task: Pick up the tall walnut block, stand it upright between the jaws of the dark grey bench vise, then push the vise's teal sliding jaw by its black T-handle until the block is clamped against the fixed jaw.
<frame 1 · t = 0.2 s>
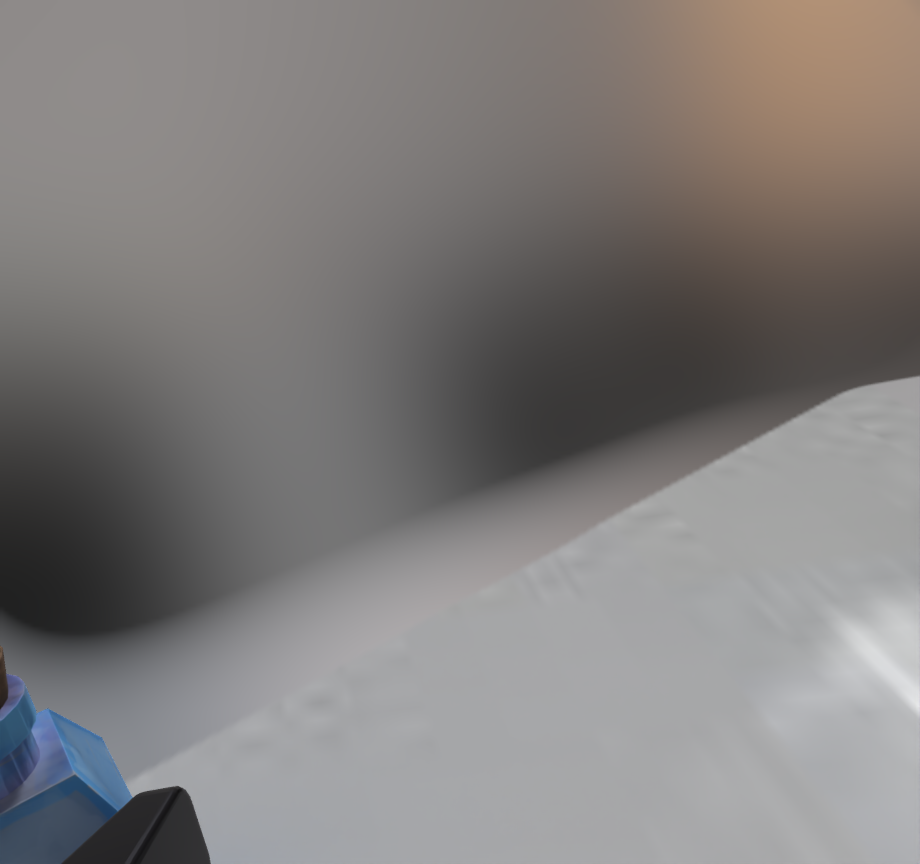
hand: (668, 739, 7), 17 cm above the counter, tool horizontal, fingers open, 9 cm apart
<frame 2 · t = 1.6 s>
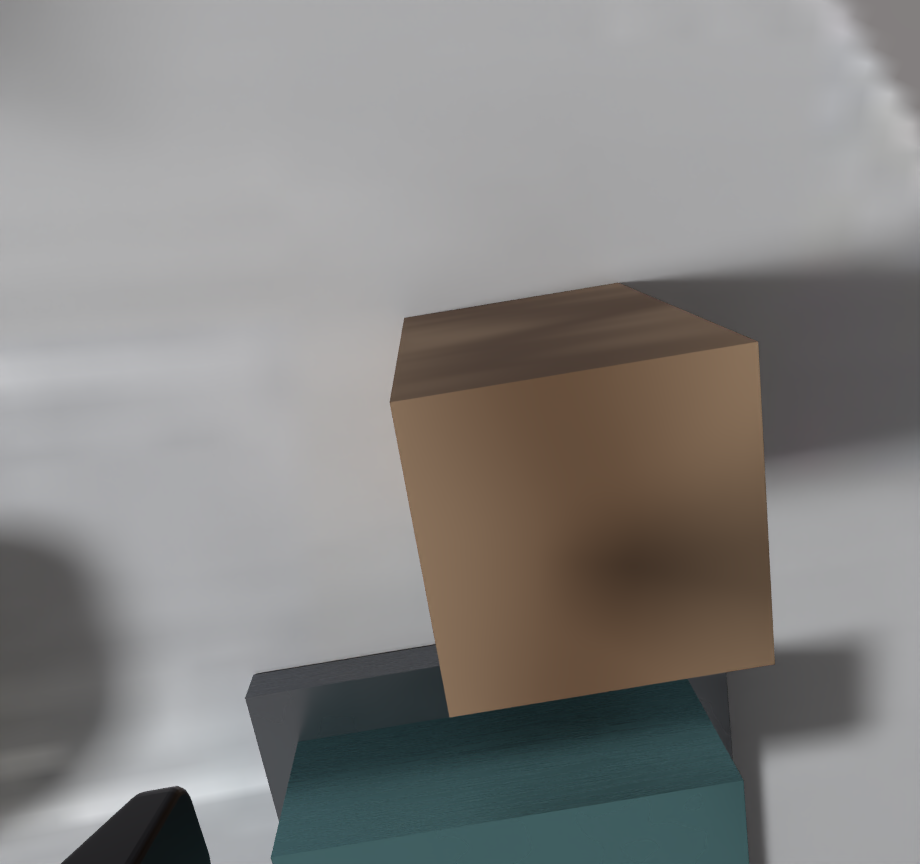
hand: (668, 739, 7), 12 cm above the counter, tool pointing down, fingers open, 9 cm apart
walnut block: (525, 403, 19), on the counter
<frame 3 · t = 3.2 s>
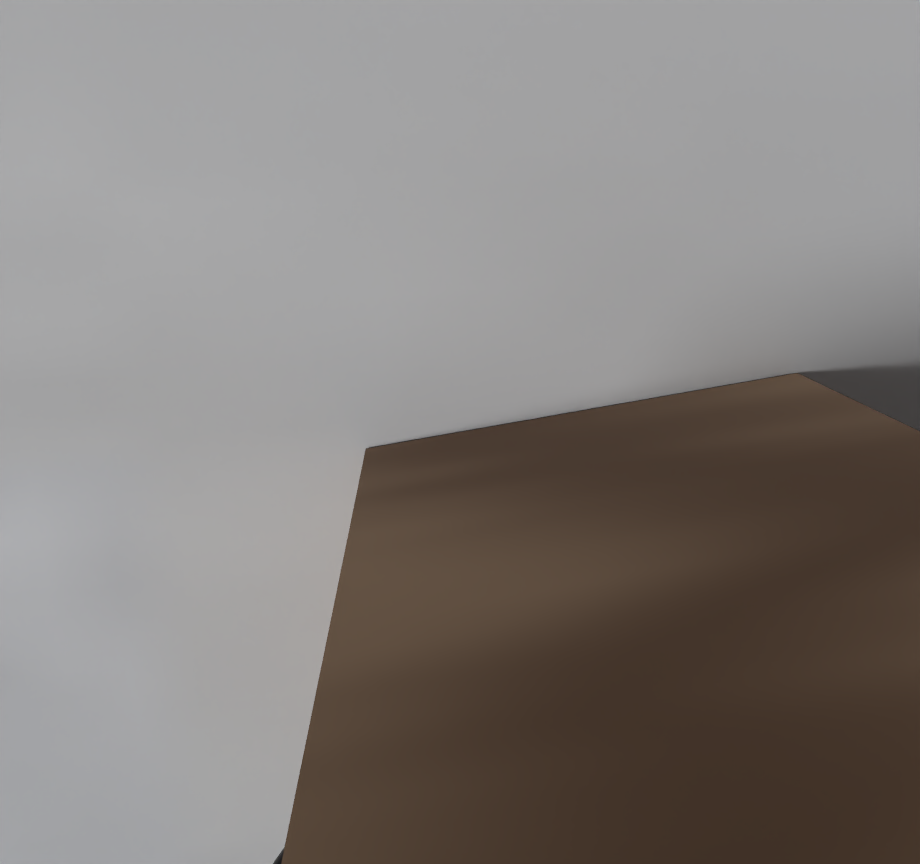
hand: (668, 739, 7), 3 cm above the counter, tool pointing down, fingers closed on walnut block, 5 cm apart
walnut block: (605, 603, 10), on the counter, touching gripper
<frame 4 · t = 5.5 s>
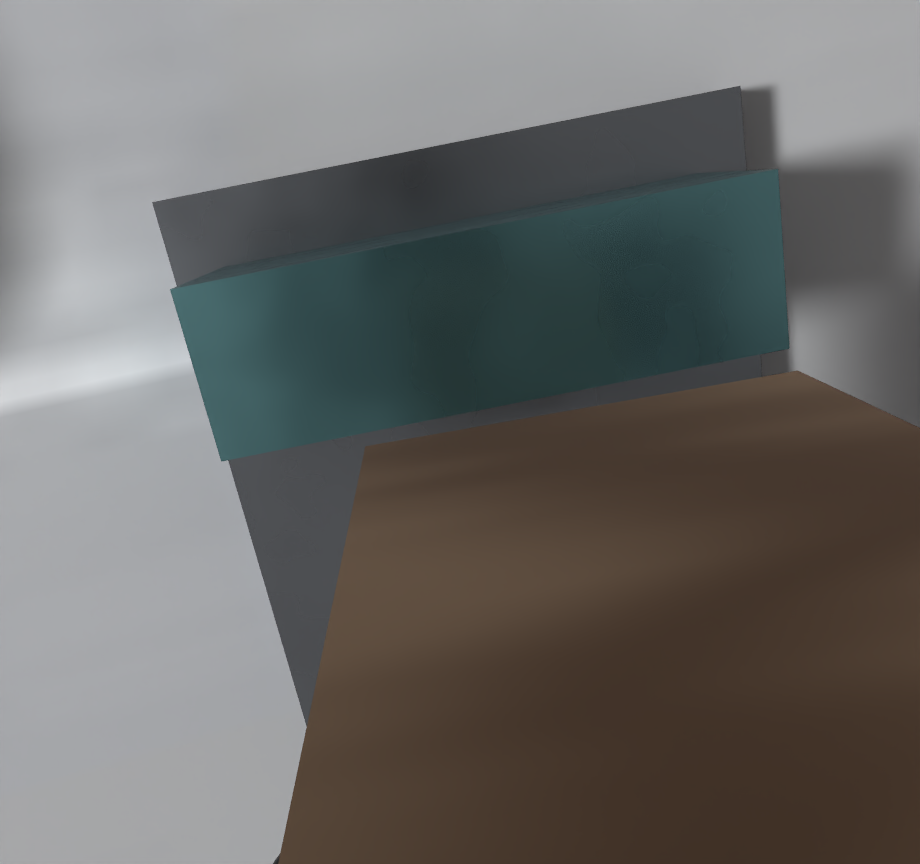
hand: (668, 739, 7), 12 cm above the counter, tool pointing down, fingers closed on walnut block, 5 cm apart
walnut block: (605, 601, 10), point 9 cm above the counter, touching gripper
vise: (533, 633, 20), on the counter
when the fingers open (4 cm above the counter, at t = 7.9 s): walnut block stays where it is, resting on vise.
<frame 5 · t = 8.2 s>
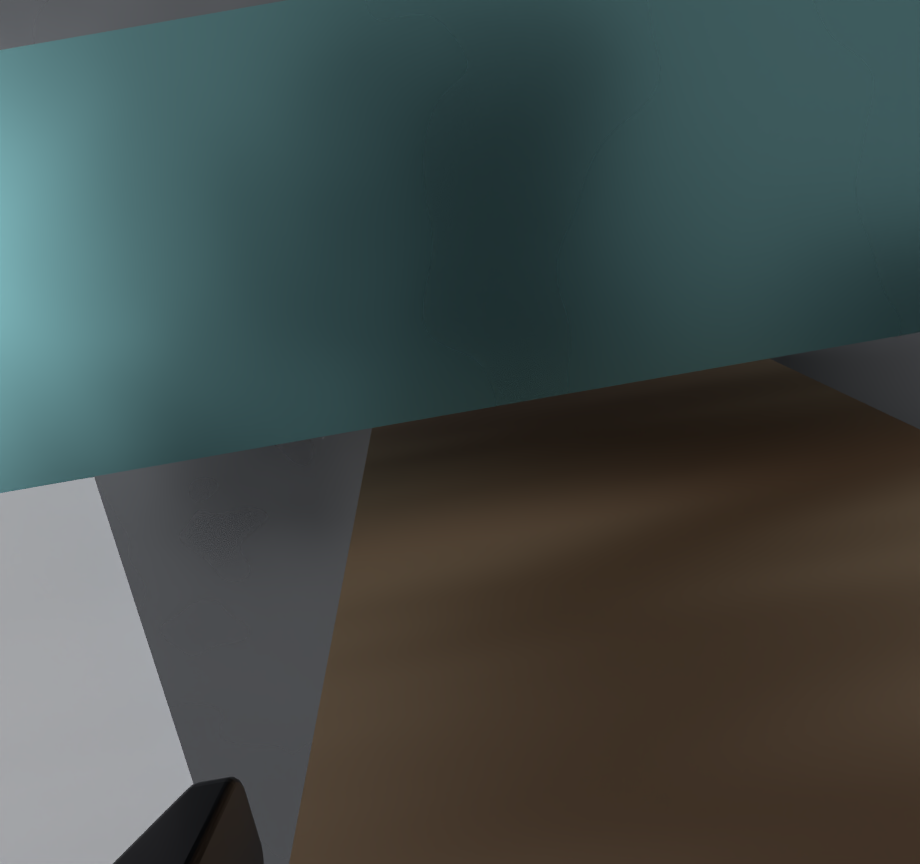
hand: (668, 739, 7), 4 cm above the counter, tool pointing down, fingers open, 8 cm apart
walnut block: (591, 568, 11), point 1 cm above the counter, touching vise
vise: (603, 761, 13), on the counter
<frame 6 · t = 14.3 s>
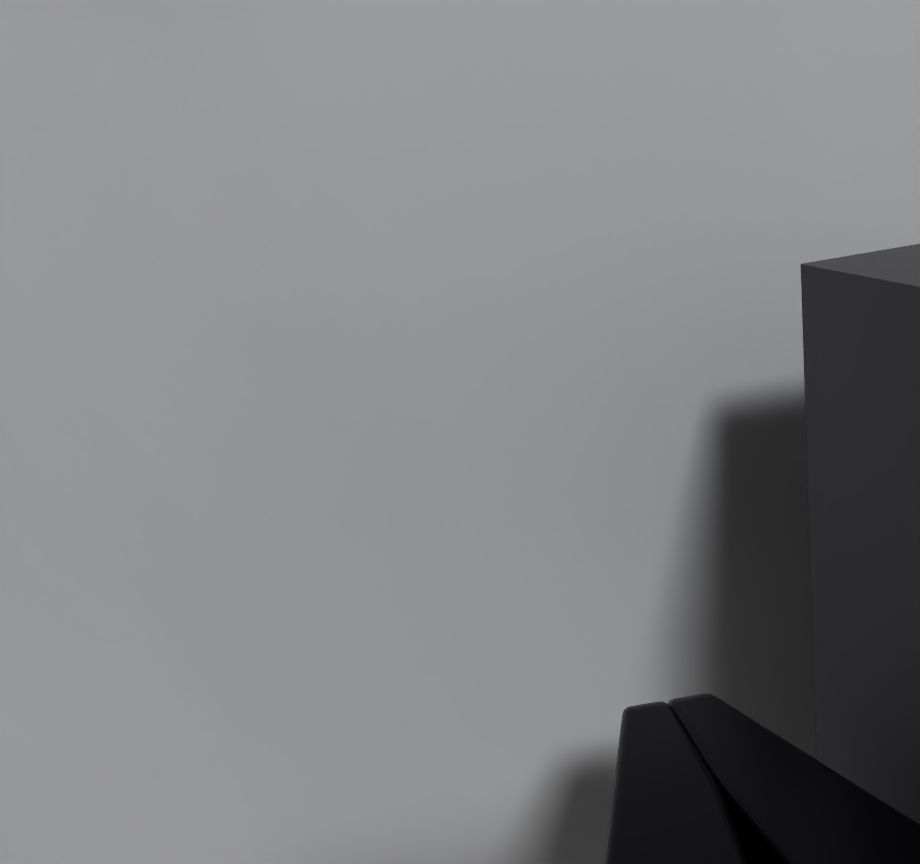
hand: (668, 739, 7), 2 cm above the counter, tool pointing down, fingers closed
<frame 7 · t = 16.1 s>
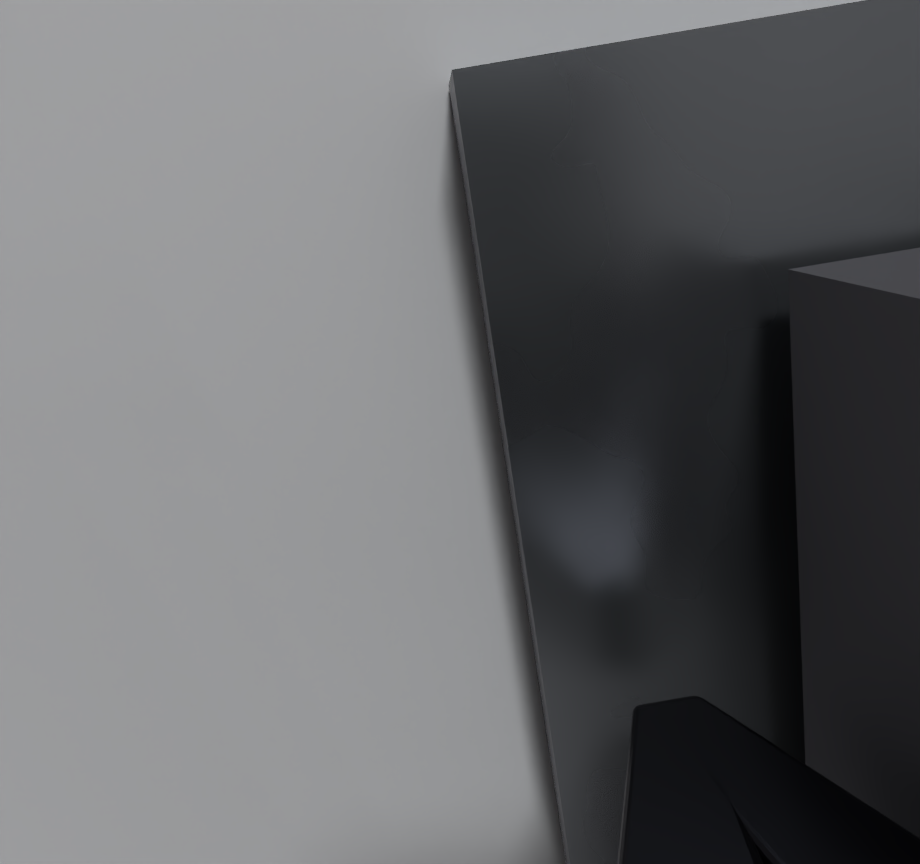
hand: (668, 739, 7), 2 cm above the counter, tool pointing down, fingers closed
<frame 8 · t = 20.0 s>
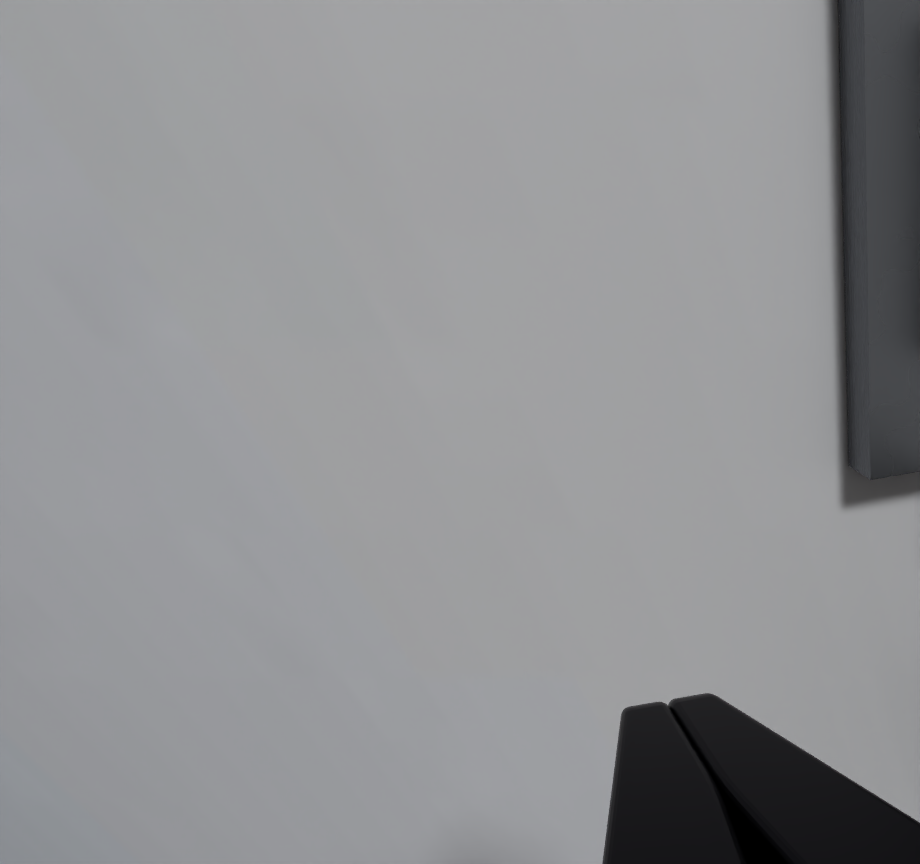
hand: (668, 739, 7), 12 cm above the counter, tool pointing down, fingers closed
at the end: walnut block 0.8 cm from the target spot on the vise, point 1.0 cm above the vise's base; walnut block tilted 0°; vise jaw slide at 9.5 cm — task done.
